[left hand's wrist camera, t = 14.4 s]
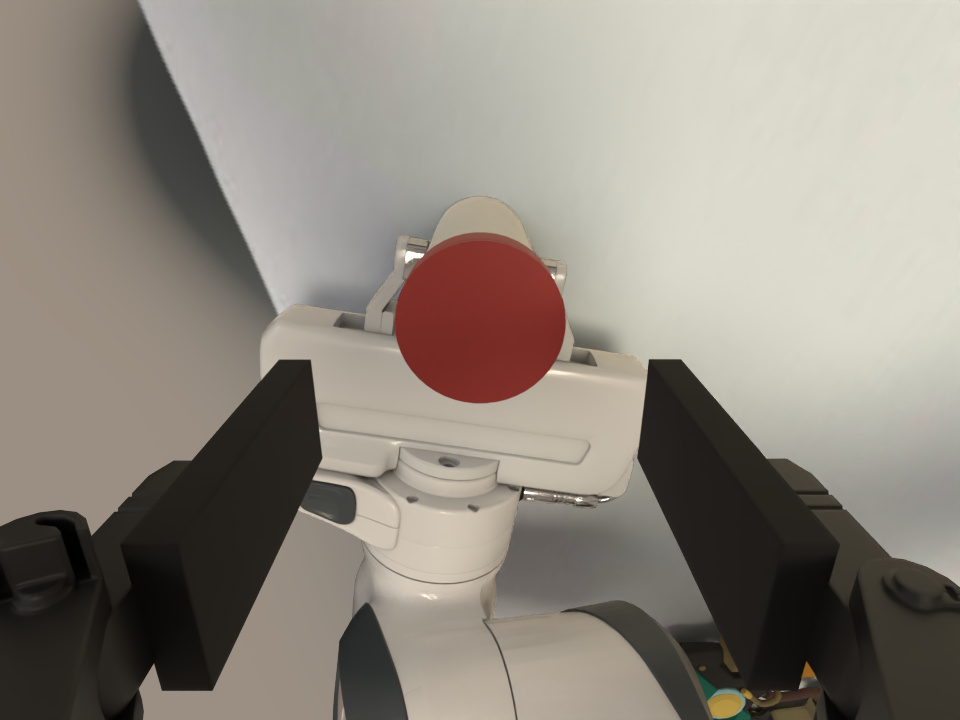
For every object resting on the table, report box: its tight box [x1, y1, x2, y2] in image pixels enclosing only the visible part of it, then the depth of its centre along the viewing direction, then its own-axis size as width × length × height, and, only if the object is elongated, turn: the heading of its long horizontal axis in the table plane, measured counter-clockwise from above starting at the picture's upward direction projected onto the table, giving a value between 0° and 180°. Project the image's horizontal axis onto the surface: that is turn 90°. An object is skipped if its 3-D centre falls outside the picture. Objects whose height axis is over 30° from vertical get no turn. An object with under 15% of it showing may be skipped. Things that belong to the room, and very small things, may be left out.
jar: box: [427, 196, 534, 252], centre depth 28 cm, size 5×5×15 cm
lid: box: [395, 232, 566, 403], centre depth 21 cm, size 6×6×2 cm
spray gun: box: [677, 636, 821, 720], centre depth 46 cm, size 4×17×15 cm
